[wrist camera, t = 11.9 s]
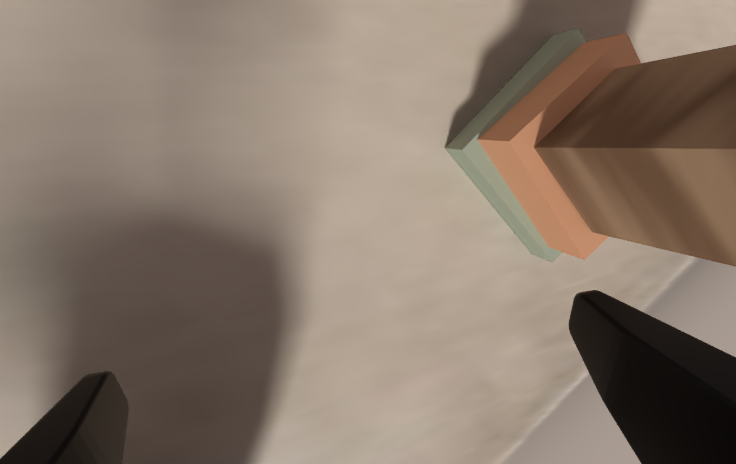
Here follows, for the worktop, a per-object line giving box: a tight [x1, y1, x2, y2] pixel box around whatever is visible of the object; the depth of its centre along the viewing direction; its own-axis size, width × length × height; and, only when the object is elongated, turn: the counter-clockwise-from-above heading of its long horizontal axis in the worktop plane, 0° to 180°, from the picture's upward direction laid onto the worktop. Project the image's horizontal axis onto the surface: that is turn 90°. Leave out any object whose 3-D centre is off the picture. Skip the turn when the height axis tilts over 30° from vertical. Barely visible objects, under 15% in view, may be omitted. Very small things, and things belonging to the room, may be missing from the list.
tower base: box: [445, 28, 587, 262], centre depth 25 cm, size 8×8×2 cm
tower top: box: [477, 33, 641, 260], centre depth 22 cm, size 7×7×2 cm
